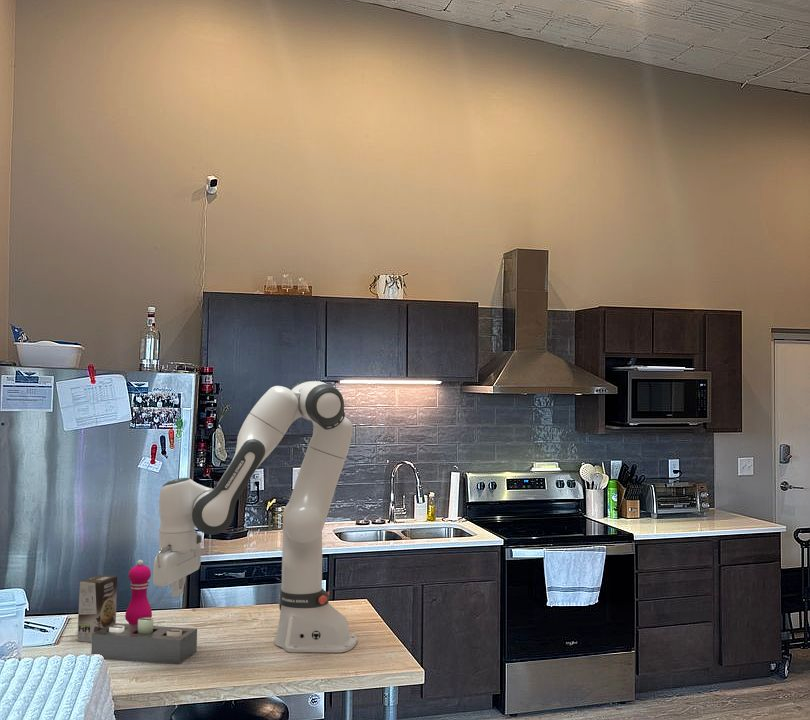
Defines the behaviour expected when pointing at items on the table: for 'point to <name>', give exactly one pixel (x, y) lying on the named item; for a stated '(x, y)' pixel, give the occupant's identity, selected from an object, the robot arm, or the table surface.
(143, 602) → the pepper mill
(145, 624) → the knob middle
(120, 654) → the grey rectangular holder block
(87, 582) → the brown food box
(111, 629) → the small cream cup
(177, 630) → the cream white small cup
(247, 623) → the table surface
